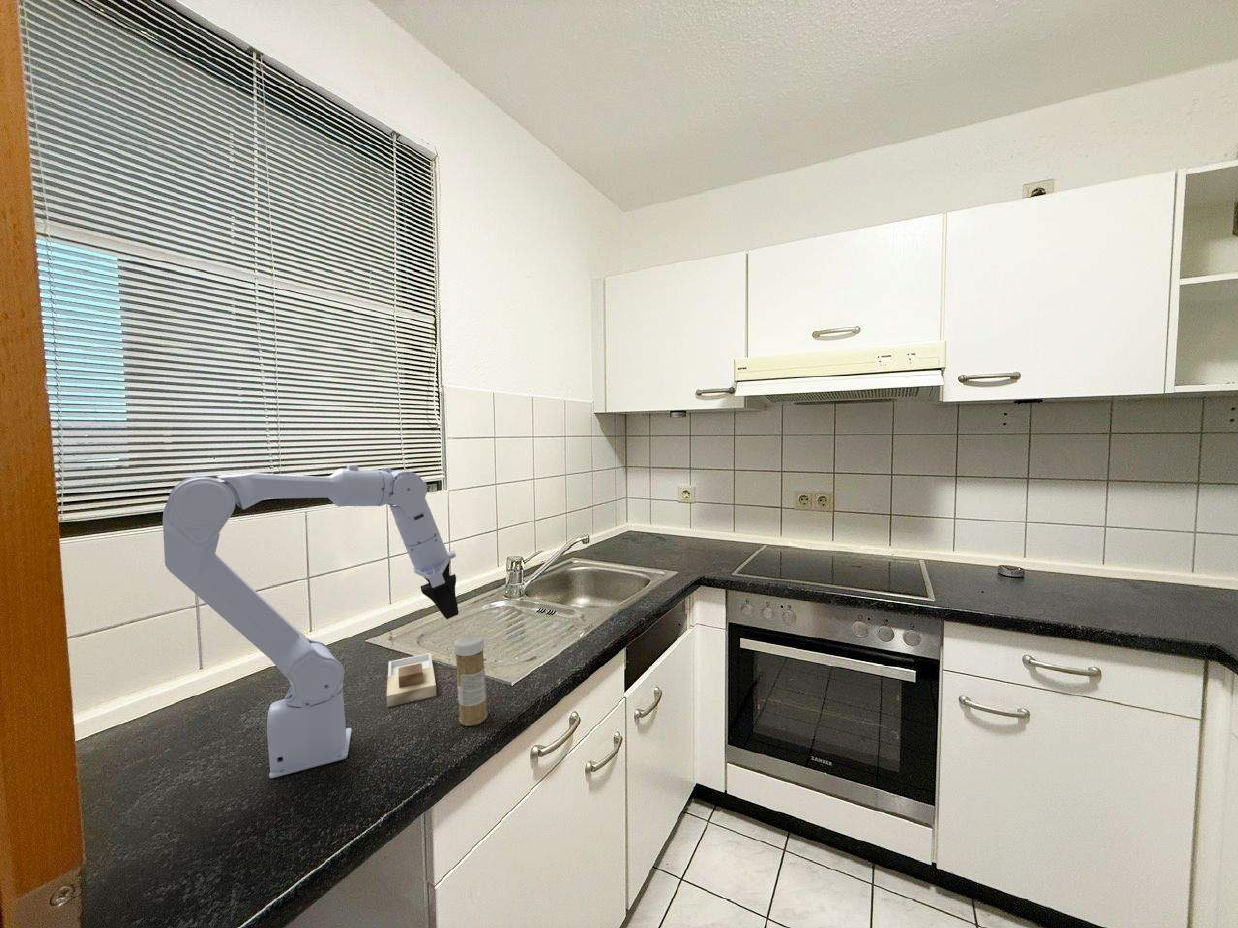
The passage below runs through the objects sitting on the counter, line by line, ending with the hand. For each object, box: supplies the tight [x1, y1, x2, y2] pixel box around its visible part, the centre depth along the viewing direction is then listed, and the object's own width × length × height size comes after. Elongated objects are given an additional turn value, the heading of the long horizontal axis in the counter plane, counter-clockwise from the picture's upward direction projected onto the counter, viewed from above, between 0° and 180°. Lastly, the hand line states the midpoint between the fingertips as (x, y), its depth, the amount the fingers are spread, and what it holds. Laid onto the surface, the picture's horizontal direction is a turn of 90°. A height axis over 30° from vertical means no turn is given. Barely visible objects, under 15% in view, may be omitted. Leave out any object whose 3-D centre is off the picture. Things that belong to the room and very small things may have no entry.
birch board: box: [386, 666, 437, 708], centre depth 91 cm, size 8×8×2 cm
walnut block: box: [398, 663, 423, 688], centre depth 90 cm, size 4×4×2 cm
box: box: [387, 652, 434, 677], centre depth 98 cm, size 8×8×2 cm
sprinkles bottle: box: [453, 633, 488, 727], centre depth 80 cm, size 5×5×14 cm
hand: (450, 607), depth 87 cm, fingers open, 7 cm apart
